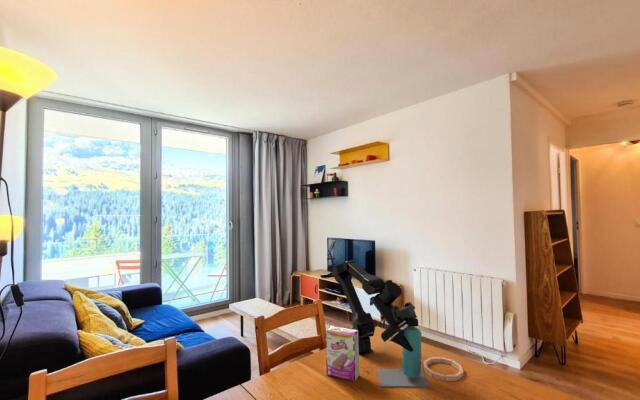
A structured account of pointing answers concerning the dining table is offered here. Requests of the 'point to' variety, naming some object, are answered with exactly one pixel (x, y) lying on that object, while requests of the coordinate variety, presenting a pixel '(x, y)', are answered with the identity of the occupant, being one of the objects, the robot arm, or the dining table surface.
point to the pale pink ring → (441, 376)
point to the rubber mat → (400, 379)
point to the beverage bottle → (413, 359)
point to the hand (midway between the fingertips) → (416, 347)
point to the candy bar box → (342, 353)
